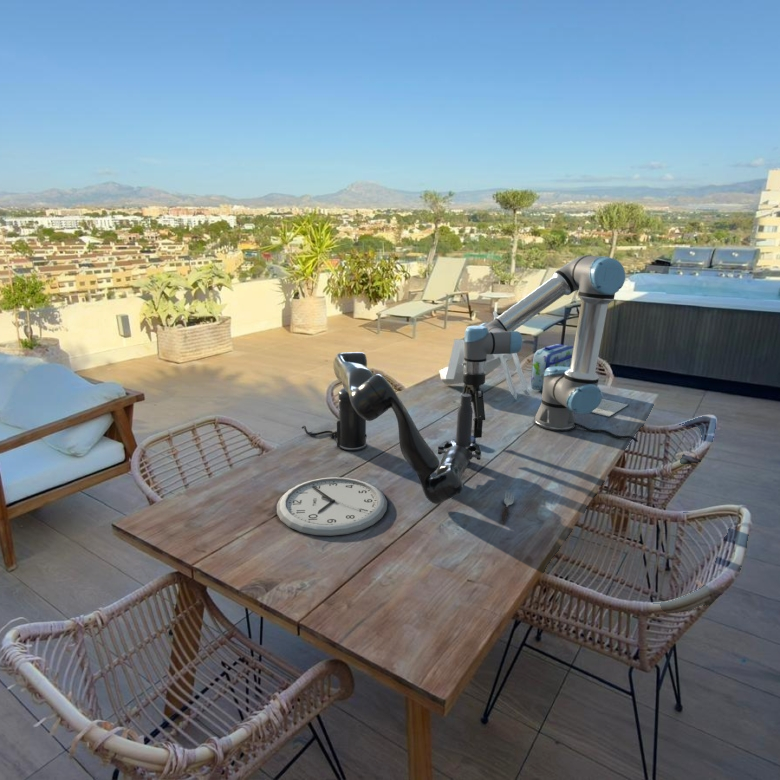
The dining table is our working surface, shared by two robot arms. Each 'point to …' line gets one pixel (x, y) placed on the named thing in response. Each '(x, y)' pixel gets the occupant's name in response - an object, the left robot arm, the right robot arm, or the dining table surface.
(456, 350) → the white plastic object
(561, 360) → the lunch box
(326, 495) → the wall clock
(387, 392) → the left robot arm
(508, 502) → the fork
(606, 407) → the invitation card
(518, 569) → the dining table surface
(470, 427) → the bottle
